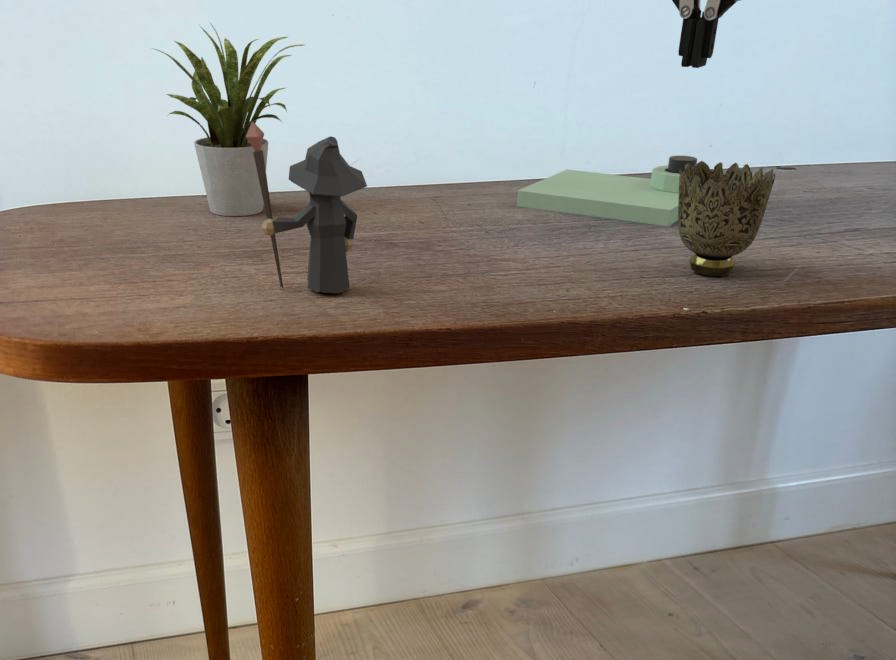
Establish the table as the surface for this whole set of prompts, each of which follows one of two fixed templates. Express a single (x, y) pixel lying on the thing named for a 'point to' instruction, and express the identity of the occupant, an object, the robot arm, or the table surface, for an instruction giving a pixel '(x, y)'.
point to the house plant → (229, 127)
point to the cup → (720, 213)
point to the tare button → (680, 163)
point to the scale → (607, 195)
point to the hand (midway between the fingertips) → (693, 65)
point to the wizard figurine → (317, 210)
